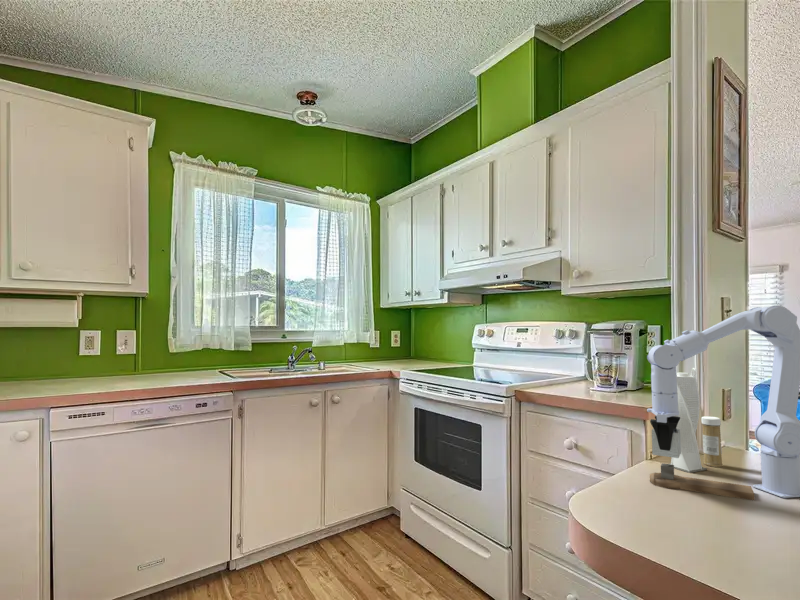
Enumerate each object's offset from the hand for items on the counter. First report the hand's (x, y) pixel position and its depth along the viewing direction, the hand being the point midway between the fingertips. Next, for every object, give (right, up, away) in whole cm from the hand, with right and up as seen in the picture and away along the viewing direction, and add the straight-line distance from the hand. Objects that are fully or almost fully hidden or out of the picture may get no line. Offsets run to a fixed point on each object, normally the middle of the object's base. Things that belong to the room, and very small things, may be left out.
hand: (666, 447), depth 116 cm
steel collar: (0, -2, 0) cm, 2 cm away
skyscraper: (+13, -10, +12) cm, 20 cm away
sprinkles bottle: (+22, -10, +16) cm, 29 cm away
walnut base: (+6, -9, -4) cm, 11 cm away
